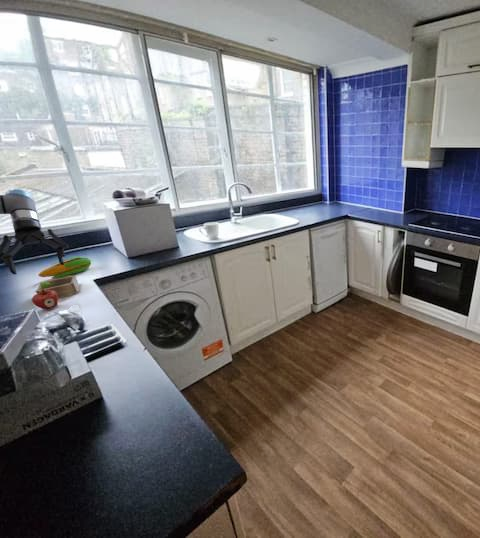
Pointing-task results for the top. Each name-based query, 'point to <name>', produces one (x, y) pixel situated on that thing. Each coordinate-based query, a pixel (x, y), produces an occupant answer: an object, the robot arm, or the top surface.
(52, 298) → the apple
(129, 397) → the top surface
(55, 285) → the wooden crate
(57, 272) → the corn
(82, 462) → the top surface
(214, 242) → the top surface
